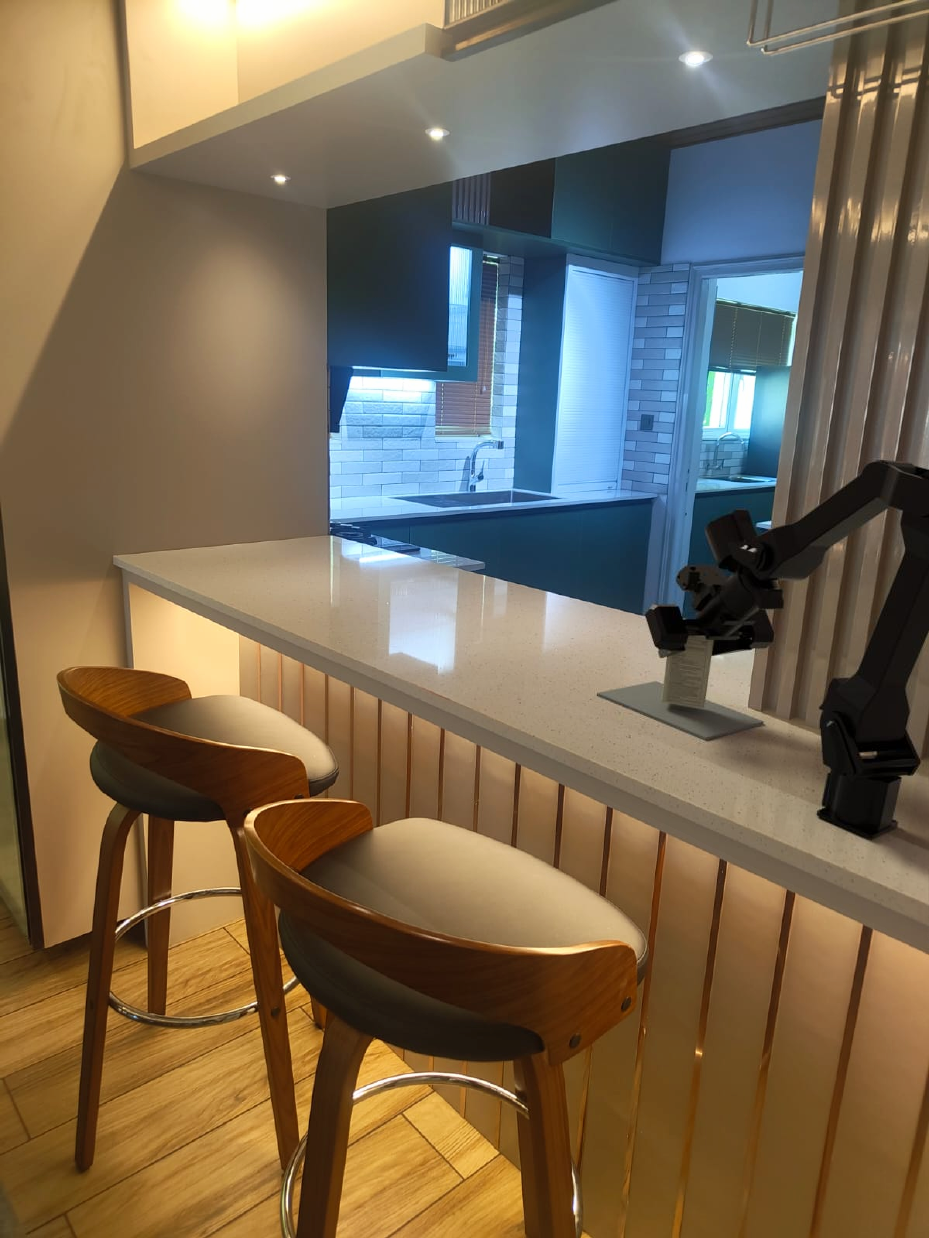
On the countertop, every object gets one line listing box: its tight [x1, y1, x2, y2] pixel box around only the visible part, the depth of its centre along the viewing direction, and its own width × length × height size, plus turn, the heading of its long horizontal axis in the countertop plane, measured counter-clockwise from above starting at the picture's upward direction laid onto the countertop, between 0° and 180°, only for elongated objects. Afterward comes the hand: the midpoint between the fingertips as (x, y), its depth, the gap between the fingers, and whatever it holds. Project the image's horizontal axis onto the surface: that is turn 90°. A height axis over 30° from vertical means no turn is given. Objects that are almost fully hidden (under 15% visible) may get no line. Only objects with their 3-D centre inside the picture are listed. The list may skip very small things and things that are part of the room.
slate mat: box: [596, 680, 765, 741], centre depth 130 cm, size 20×14×1 cm
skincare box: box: [662, 618, 714, 708], centre depth 128 cm, size 6×4×12 cm
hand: (681, 654), depth 129 cm, fingers closed on skincare box, 7 cm apart
